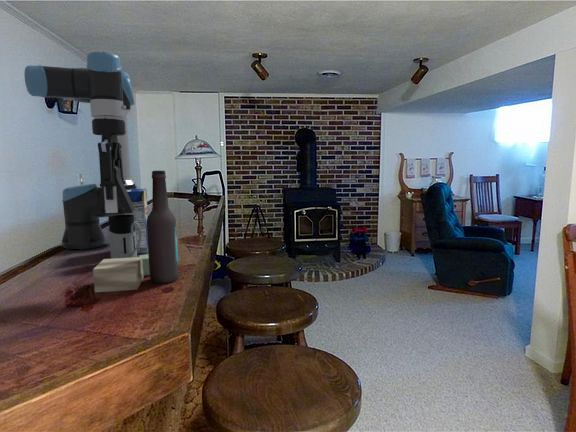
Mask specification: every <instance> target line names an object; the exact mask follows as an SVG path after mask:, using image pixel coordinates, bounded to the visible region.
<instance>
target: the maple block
mask: <svg viewBox="0 0 576 432" xmlns="http://www.w3.org/2000/svg"><path fill="white" fill-rule="evenodd" d="M92 272H93V285H94V293H105V292H106V293H108V292H121V291H122V292H123V291H134V290H136V291H137V290H138V288H139V287H140V285H141V283H142V281H143V279H144V276H143V261H142V257H139V256H137V257H132V258H113V259H111V258H103V259H102V260H101V261H100V262H99V263H98V264H97V265H96V266H95V267H93V269H92Z"/></svg>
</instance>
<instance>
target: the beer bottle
mask: <svg viewBox="0 0 576 432" xmlns="http://www.w3.org/2000/svg"><path fill="white" fill-rule="evenodd" d="M151 179H152V186H151V187H152V189H151V190H152V191H151V193H152V197H151V198H152V199H151V201H152V207H151V211H150V213H148V218H147V239H148V253H147V254H148V256H149V273H150V275H149V279H150V282H152V283H153V284H169V283H172V282H175V281H177V280H178V279H179V257H178V256H179V255H178V254H179V253H178V235H177V233H178V232H177V231H178V230H177V222H176V217H175V214H174V213H173V212H172V211H171V210H170V207H169V200H168V190H167V182H166V179H167V176H166V171H165V170H152V171H151Z"/></svg>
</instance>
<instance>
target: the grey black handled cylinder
mask: <svg viewBox="0 0 576 432" xmlns="http://www.w3.org/2000/svg"><path fill="white" fill-rule="evenodd" d="M107 219H108V237H109V238H108V241H109V249H110V251H109V252H110V259H113V258H132V257H138V254H137V248H138V247H139V245H140V242H141V227H140V225H139V223H137V222H134V215H129V214H124V215H113V216H109V217H107ZM134 224H137V226H138V228H139V240H138V244H137V246H136V231H135V225H134Z"/></svg>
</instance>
